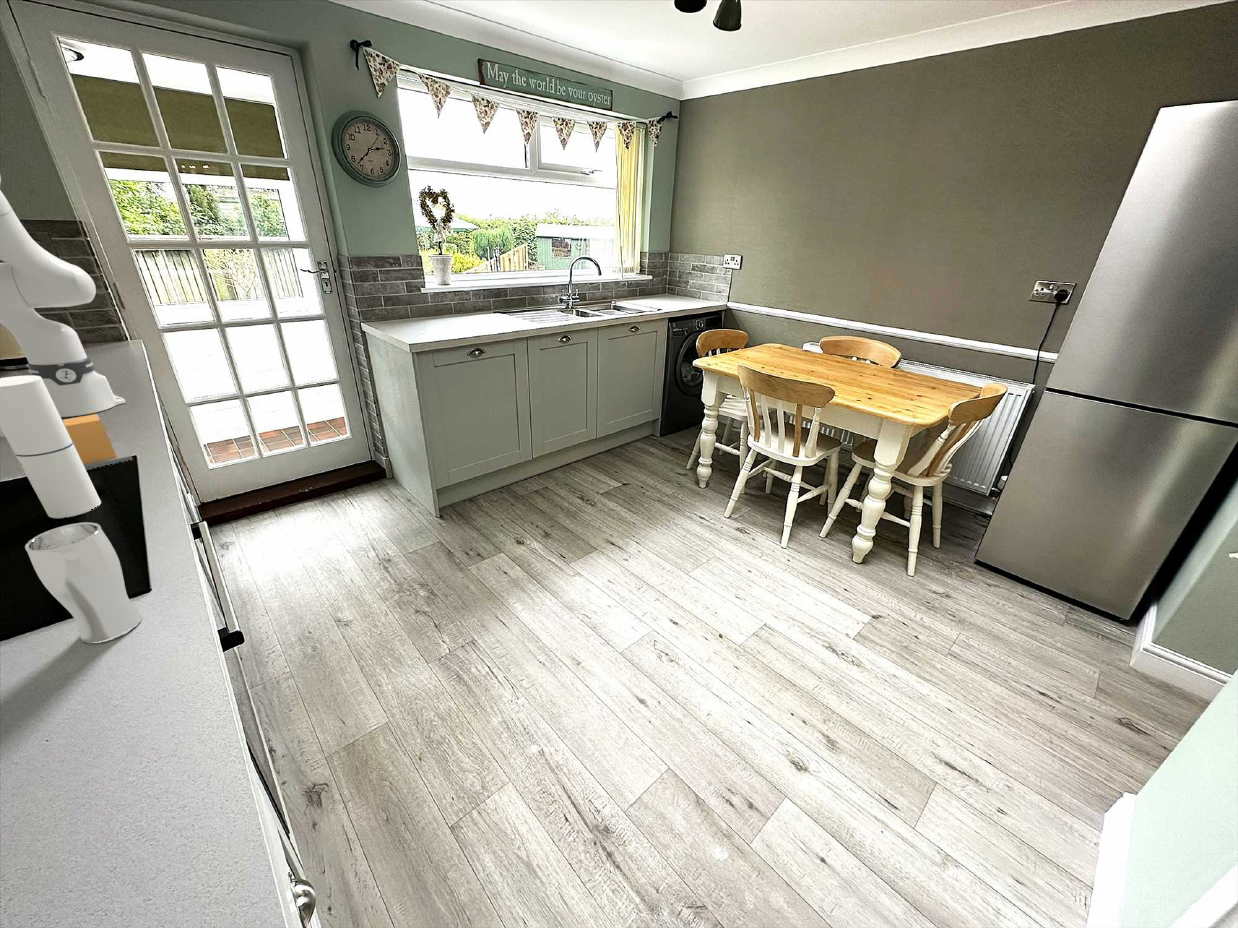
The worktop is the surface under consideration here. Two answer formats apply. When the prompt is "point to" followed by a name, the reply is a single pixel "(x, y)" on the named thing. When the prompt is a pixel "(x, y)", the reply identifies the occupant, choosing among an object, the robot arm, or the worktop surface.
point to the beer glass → (84, 579)
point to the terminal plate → (121, 455)
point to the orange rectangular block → (89, 438)
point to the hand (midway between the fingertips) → (6, 426)
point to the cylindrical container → (44, 447)
